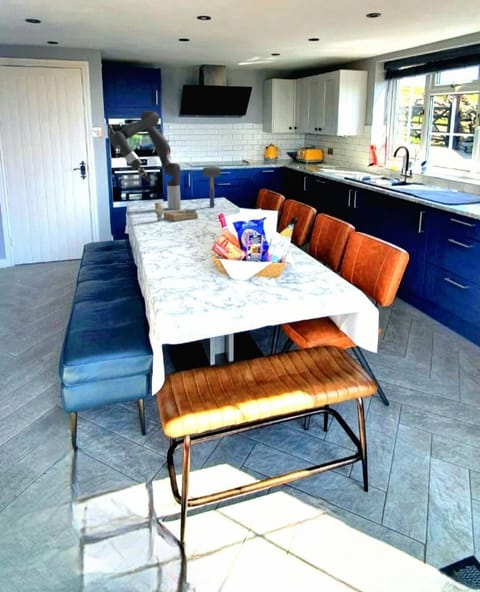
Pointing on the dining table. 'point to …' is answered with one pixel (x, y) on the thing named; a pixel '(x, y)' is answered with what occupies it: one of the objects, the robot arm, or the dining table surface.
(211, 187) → the rubber mallet
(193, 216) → the subfloor panel
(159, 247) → the dining table surface
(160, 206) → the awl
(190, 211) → the stud finder
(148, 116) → the robot arm
